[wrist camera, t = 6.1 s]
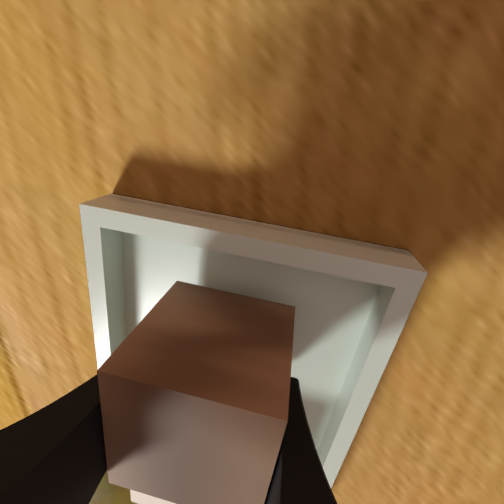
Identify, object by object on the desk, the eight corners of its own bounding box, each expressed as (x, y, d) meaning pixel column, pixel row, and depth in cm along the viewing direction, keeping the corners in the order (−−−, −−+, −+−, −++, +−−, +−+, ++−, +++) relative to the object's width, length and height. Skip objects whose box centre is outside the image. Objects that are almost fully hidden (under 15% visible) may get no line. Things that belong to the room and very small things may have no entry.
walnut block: (295, 306, 11) (287, 420, 7) (273, 394, 13) (257, 528, 9) (177, 280, 12) (97, 370, 7) (173, 368, 14) (108, 482, 9)
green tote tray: (409, 250, 12) (427, 272, 10) (309, 496, 19) (310, 535, 17) (111, 193, 13) (79, 204, 11) (127, 443, 20) (109, 474, 18)
